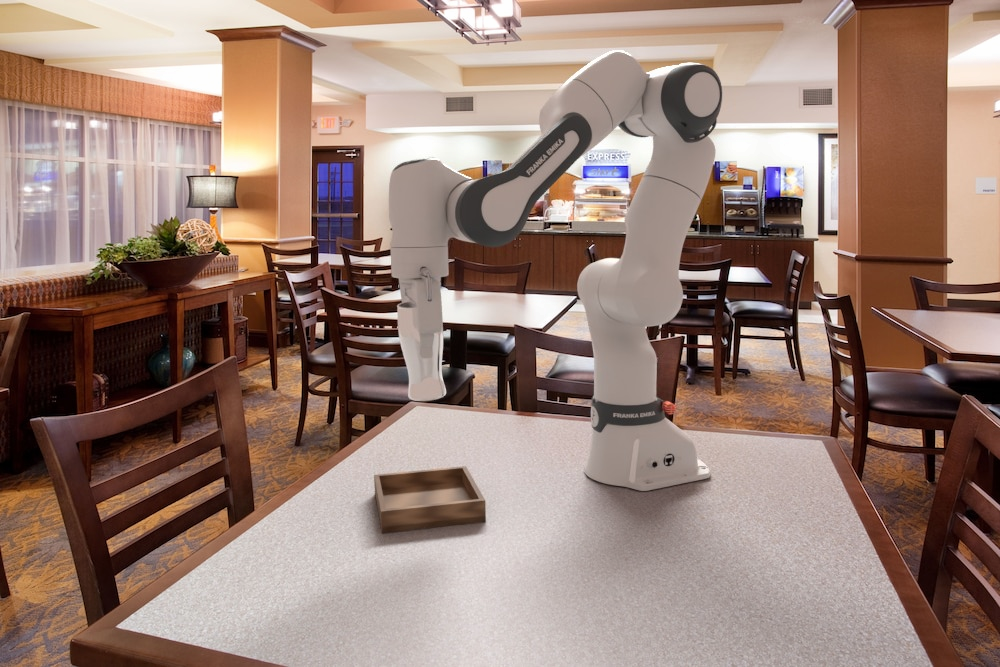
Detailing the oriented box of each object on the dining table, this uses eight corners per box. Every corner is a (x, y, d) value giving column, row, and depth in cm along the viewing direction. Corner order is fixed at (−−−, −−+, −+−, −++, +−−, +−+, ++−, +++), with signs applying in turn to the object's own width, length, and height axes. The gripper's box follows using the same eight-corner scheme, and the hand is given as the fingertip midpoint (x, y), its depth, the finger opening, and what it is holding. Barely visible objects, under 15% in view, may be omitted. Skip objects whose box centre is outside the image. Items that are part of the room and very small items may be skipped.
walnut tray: (466, 485, 128) (465, 466, 127) (485, 521, 112) (485, 500, 112) (374, 494, 124) (373, 474, 123) (381, 533, 109) (381, 511, 108)
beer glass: (442, 402, 112) (433, 307, 108) (399, 402, 113) (389, 308, 110) (453, 388, 118) (445, 298, 115) (413, 388, 120) (403, 299, 116)
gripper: (451, 269, 102) (454, 364, 105) (430, 260, 122) (433, 341, 124) (406, 270, 101) (410, 367, 103) (393, 262, 121) (396, 343, 123)
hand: (423, 352), depth 114 cm, fingers closed on beer glass, 6 cm apart
